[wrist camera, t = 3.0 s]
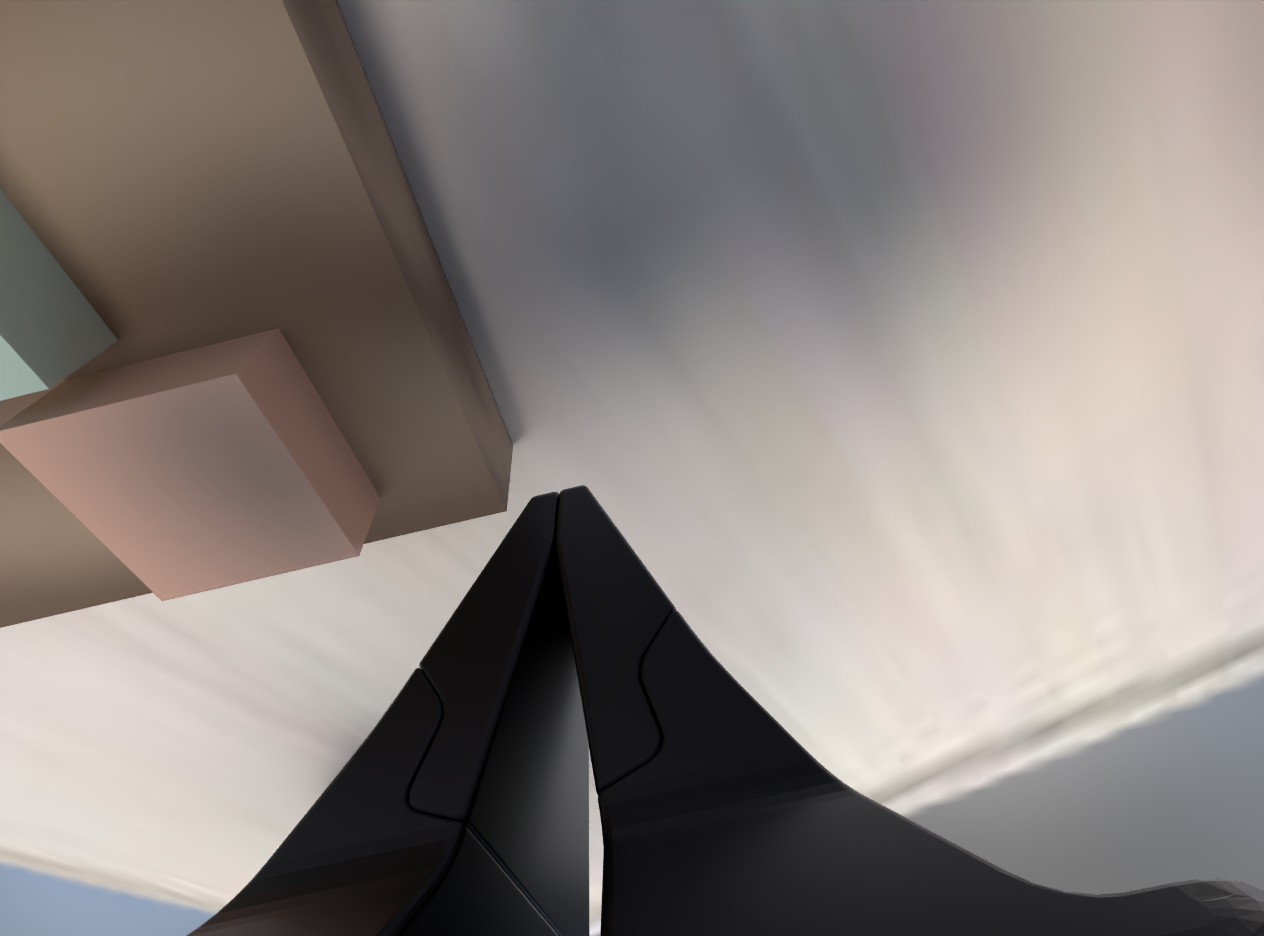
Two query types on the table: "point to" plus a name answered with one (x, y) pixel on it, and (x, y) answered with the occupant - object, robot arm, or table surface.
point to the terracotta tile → (201, 465)
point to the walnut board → (234, 249)
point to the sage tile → (40, 313)
